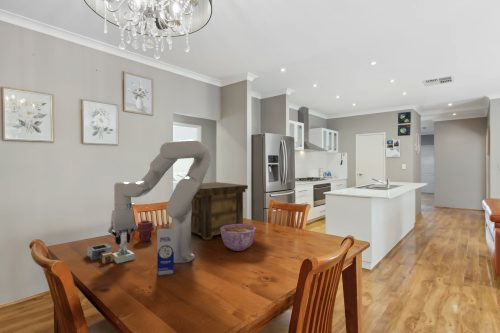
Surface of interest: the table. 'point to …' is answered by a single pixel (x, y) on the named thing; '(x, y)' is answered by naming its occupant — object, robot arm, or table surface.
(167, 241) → the milk carton
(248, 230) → the bowl of food
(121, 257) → the pale green tray
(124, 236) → the grey peg
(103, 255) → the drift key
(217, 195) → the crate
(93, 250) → the socket block
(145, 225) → the dark red pot
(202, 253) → the table surface
